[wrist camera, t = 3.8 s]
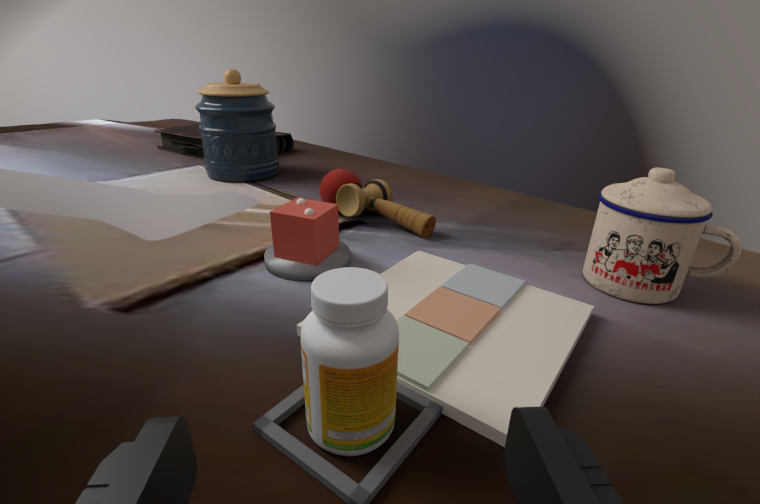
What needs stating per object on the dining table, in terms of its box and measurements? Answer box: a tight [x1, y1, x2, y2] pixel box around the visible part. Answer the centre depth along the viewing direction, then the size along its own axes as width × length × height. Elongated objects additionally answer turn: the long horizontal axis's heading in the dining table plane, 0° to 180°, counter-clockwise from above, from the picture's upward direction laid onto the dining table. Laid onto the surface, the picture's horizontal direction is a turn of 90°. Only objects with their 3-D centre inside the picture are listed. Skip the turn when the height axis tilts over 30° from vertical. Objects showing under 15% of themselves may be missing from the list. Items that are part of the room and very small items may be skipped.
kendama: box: [320, 169, 436, 238], centre depth 57 cm, size 8×6×18 cm
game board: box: [253, 250, 594, 504], centre depth 32 cm, size 26×18×1 cm
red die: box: [264, 198, 350, 281], centre depth 44 cm, size 9×9×6 cm
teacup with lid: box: [583, 168, 741, 304], centre depth 40 cm, size 12×9×12 cm
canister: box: [195, 69, 279, 182], centre depth 74 cm, size 13×13×18 cm
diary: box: [154, 124, 293, 159], centre depth 95 cm, size 19×25×5 cm
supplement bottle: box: [301, 267, 399, 456], centre depth 24 cm, size 5×5×10 cm
